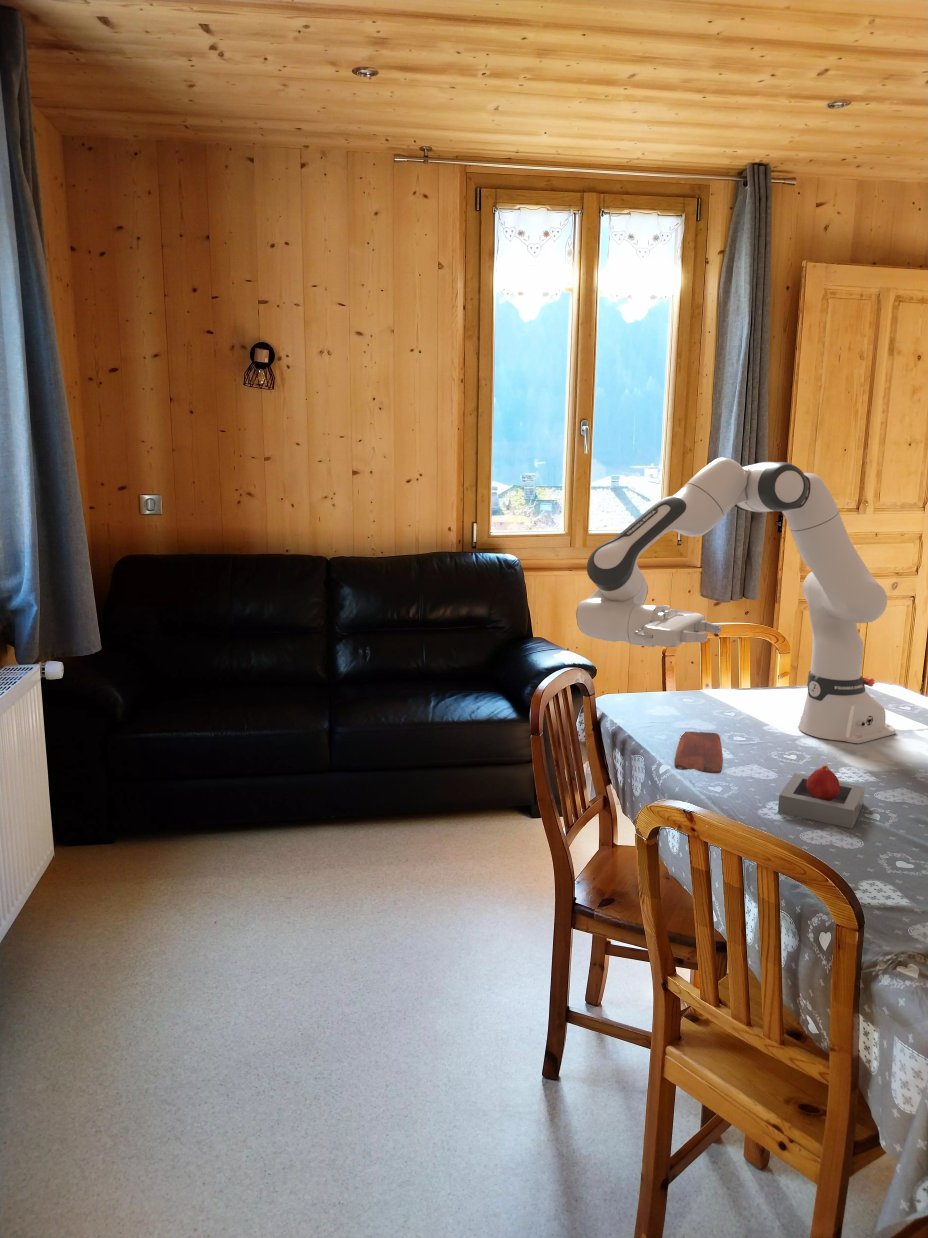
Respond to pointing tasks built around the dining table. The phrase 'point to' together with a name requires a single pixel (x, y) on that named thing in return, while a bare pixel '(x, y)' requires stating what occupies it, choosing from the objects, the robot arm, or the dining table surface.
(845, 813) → the holder
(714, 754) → the wooden tablet
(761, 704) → the dining table surface
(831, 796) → the red round fruit
